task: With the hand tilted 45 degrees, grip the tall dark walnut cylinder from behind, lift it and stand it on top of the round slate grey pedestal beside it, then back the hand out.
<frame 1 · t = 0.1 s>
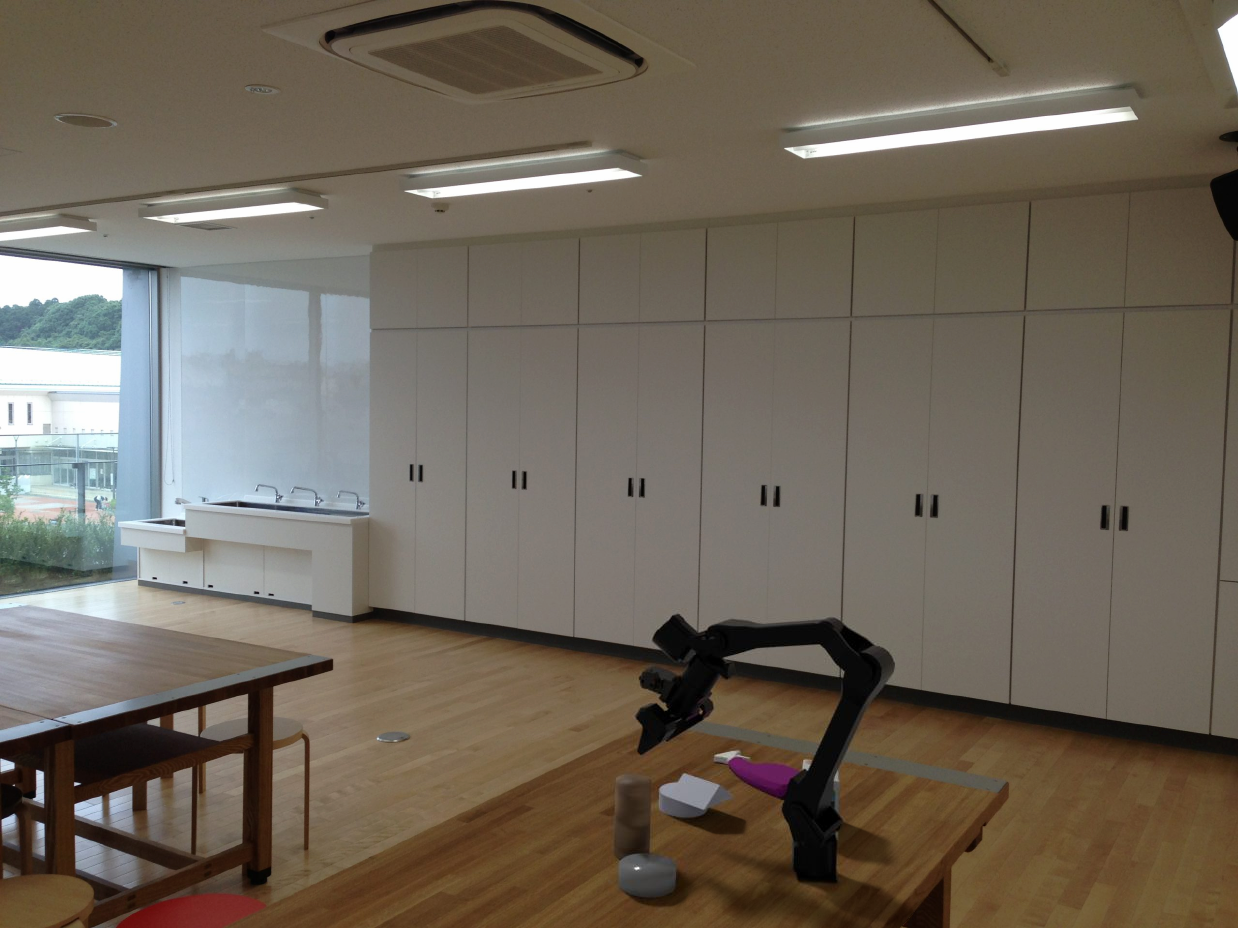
hand: (652, 746, 182), 15 cm above the table, tool tilted 35°, fingers open, 9 cm apart
slate pedestal: (646, 883, 161), on the table
light bulb box: (819, 829, 185), on the table
wedge on round base: (691, 812, 192), on the table
spray bottle: (759, 778, 212), on the table
walnut cylinder: (631, 853, 172), on the table
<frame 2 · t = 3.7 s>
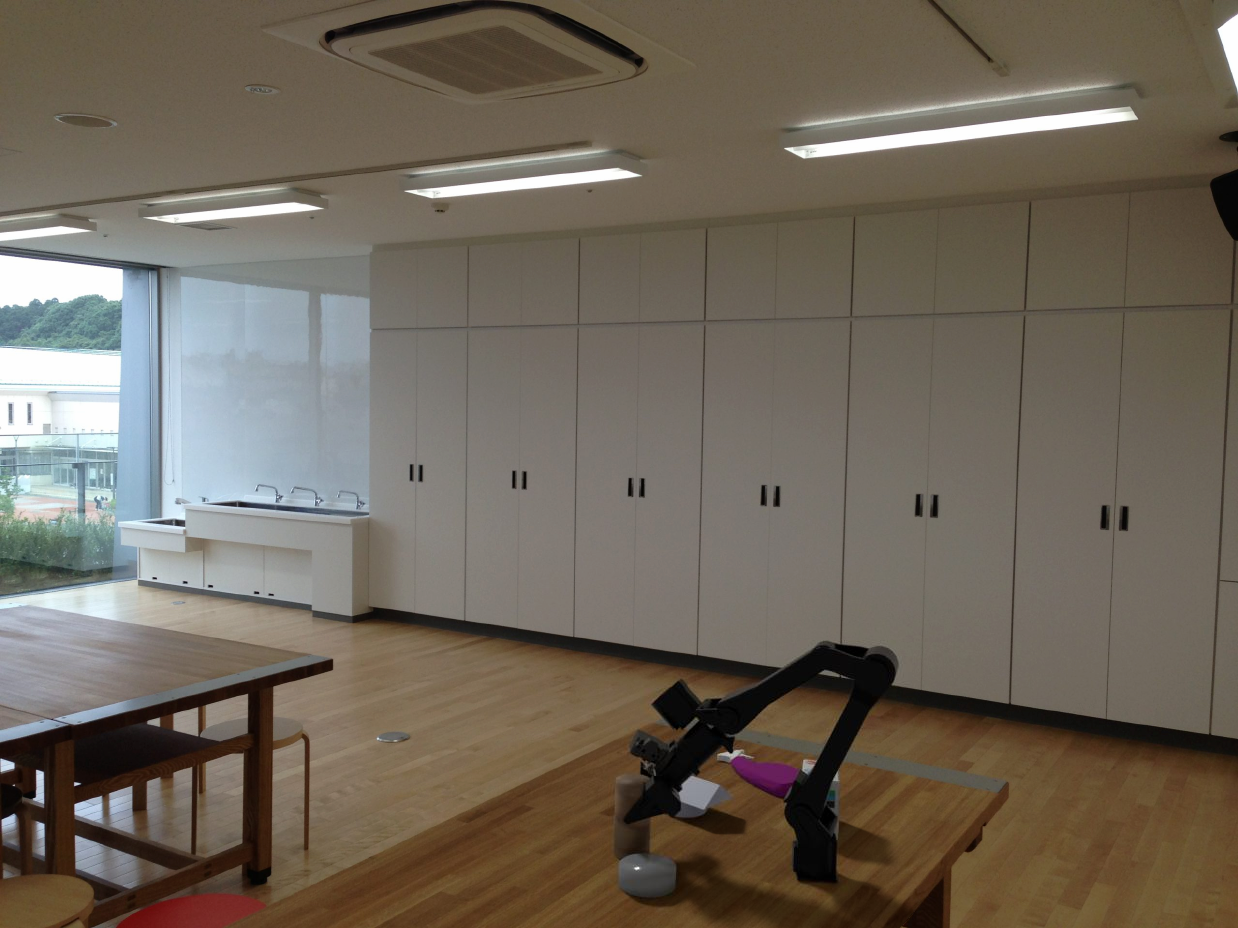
hand: (624, 814, 172), 7 cm above the table, tool tilted 45°, fingers closed on walnut cylinder, 6 cm apart
walnut cylinder: (631, 853, 172), on the table, touching gripper
when the fingers open (11 cm above the table, at t = 6.8 s): walnut cylinder drops 1 cm, resting on slate pedestal.
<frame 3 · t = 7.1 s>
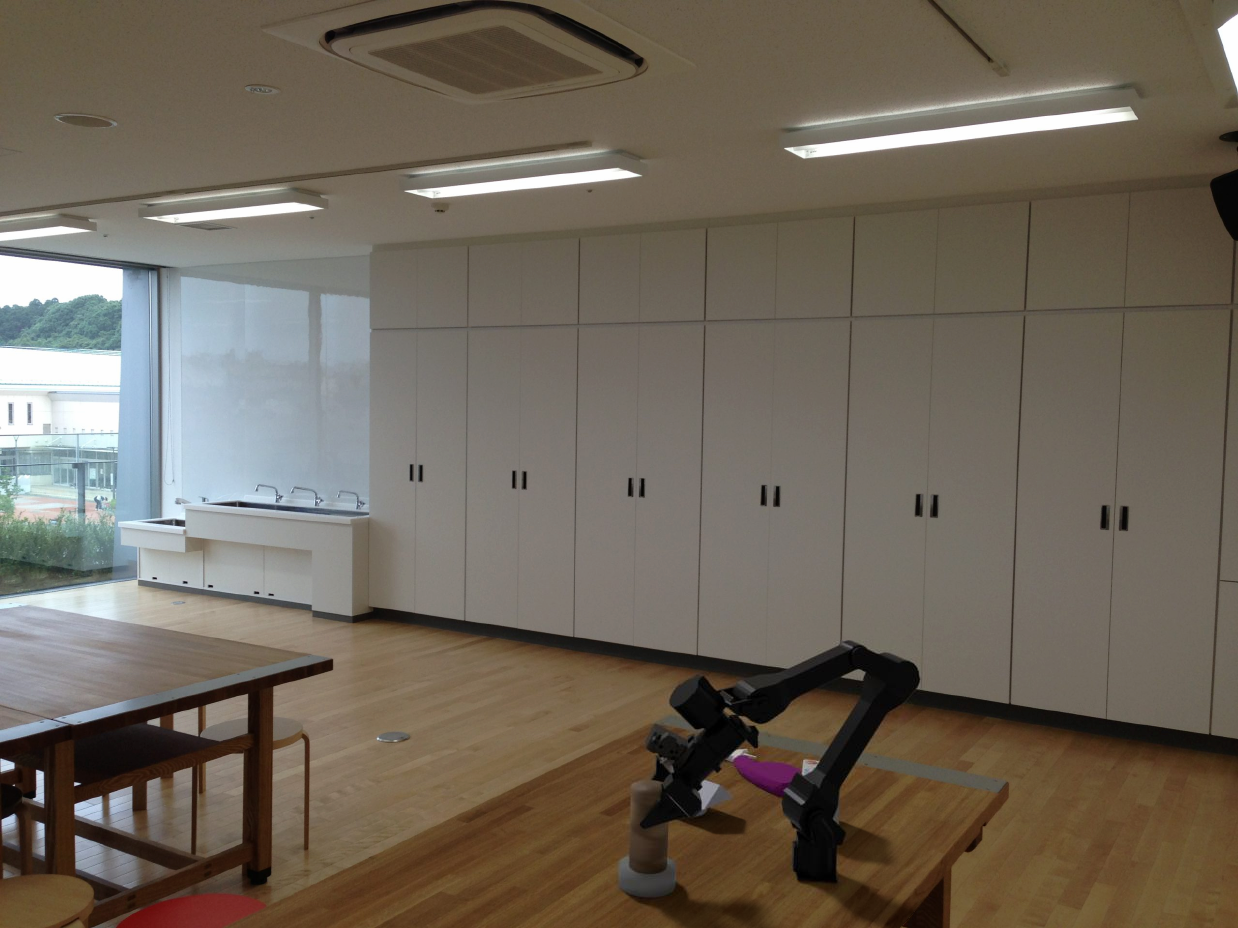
hand: (639, 814, 161), 11 cm above the table, tool tilted 45°, fingers open, 9 cm apart
walnut cylinder: (647, 865, 161), point 3 cm above the table, touching slate pedestal
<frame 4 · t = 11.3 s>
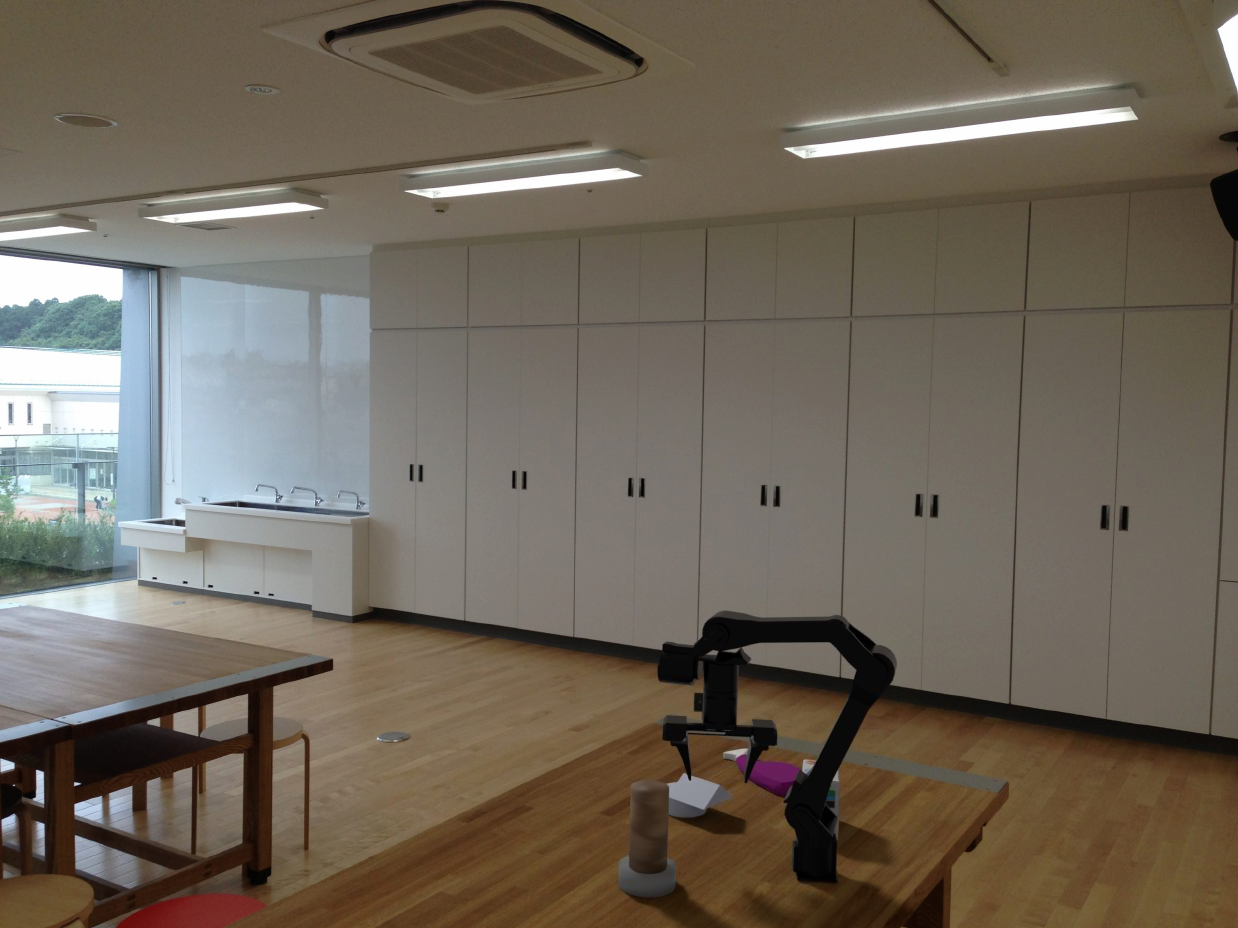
hand: (717, 781, 171), 13 cm above the table, tool pointing down, fingers open, 9 cm apart
at the end: walnut cylinder 0.1 cm off-centre on the slate pedestal, point 3.0 cm above the slate pedestal's base; walnut cylinder tilted 0°; the gripper is holding nothing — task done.
